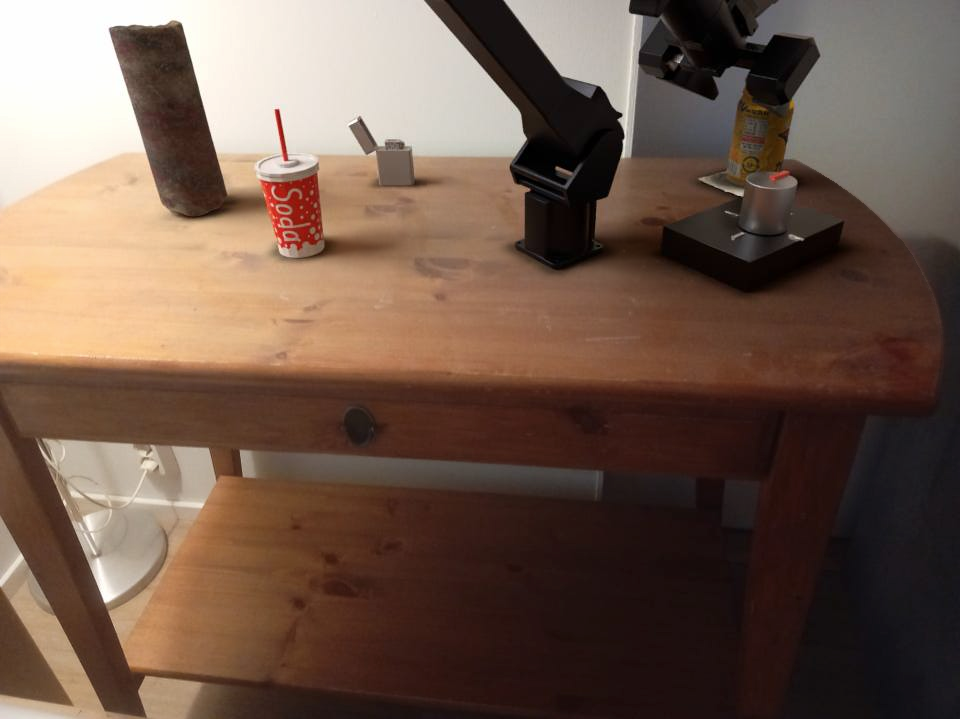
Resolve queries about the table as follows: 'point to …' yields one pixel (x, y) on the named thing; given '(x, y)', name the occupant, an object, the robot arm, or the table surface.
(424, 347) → the table surface
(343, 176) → the table surface
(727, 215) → the hob panel
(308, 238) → the beverage cup
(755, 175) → the hob knob
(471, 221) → the table surface
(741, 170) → the condiment
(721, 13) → the robot arm
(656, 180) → the table surface
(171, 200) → the rough stone core
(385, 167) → the lighter
